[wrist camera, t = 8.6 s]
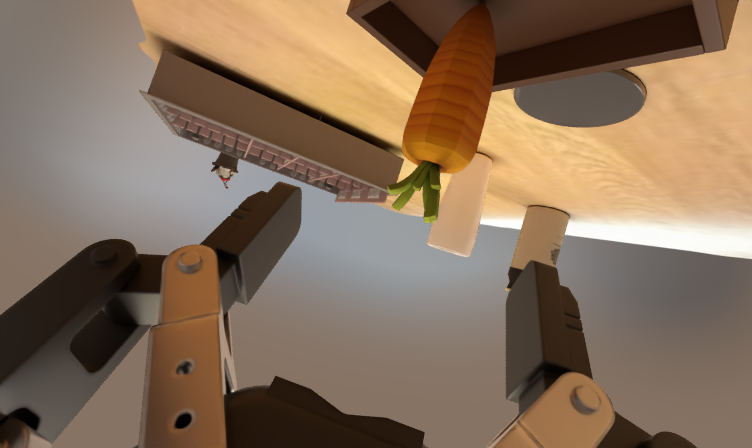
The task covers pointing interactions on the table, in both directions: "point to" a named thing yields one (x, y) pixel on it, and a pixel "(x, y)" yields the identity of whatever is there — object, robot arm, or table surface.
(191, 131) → the organizer tray
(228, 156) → the sundae
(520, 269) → the travel mug
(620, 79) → the metal coaster
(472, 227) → the drinking glass
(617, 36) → the tray
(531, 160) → the table surface
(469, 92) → the carrot
